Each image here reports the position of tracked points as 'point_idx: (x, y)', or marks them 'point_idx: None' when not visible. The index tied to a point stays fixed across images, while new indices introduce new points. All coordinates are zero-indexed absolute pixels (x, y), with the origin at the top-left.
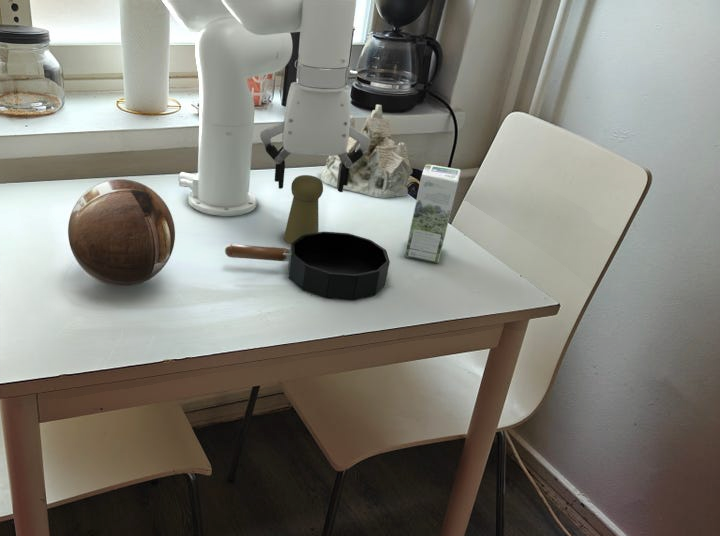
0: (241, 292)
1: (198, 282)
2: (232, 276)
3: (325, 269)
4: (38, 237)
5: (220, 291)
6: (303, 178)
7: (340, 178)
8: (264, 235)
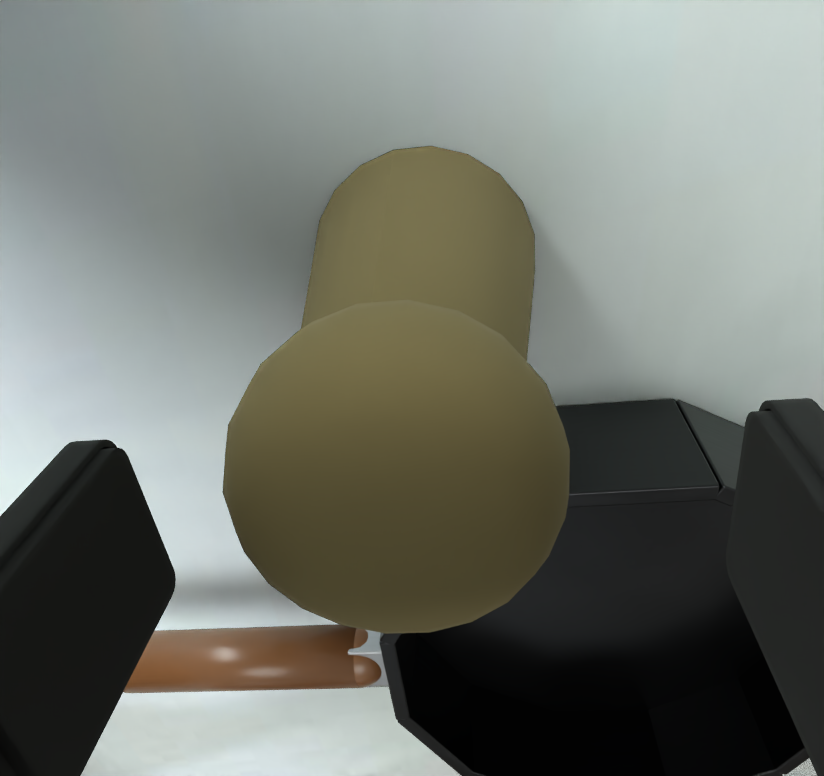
0: (261, 709)
1: None
2: None
3: (556, 576)
4: None
5: (195, 712)
6: (332, 581)
7: (788, 695)
8: (198, 250)
